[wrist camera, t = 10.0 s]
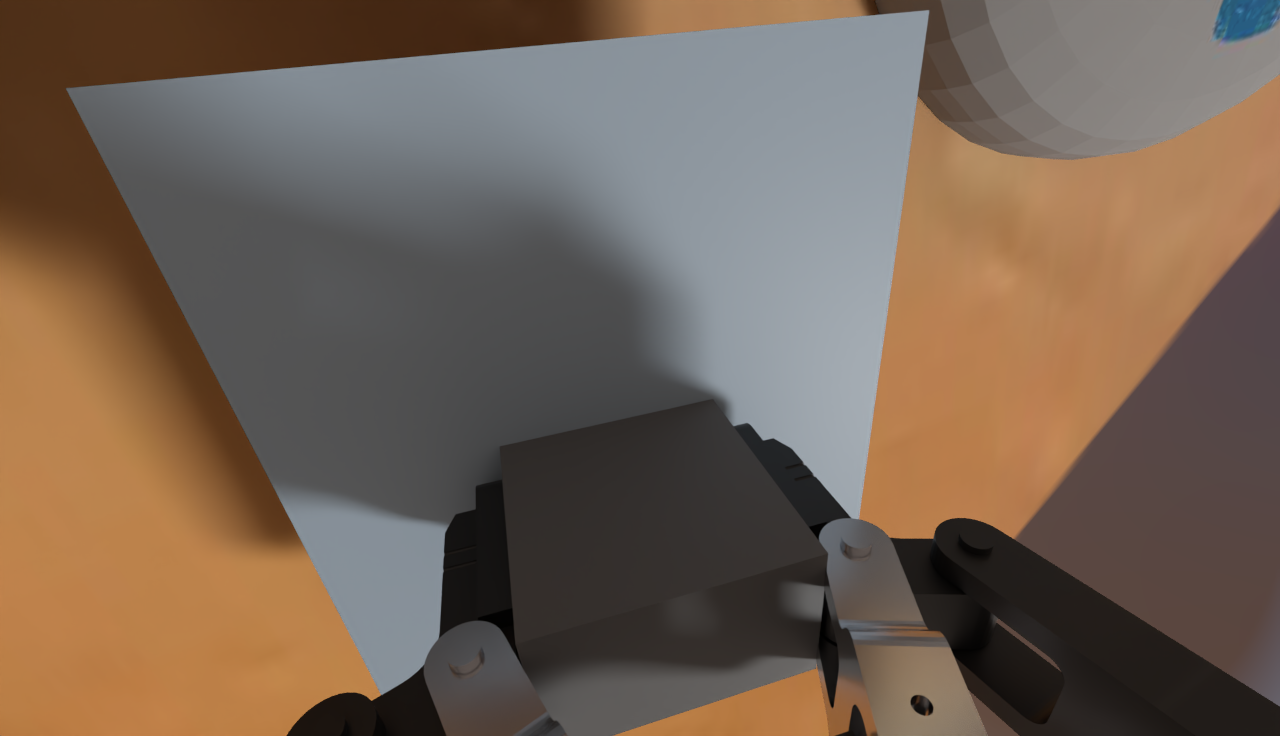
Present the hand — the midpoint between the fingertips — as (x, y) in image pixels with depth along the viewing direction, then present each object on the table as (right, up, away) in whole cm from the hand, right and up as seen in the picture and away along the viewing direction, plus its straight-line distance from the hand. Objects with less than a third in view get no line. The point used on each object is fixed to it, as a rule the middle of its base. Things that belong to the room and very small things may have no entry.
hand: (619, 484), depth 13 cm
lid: (0, +1, +1) cm, 1 cm away
